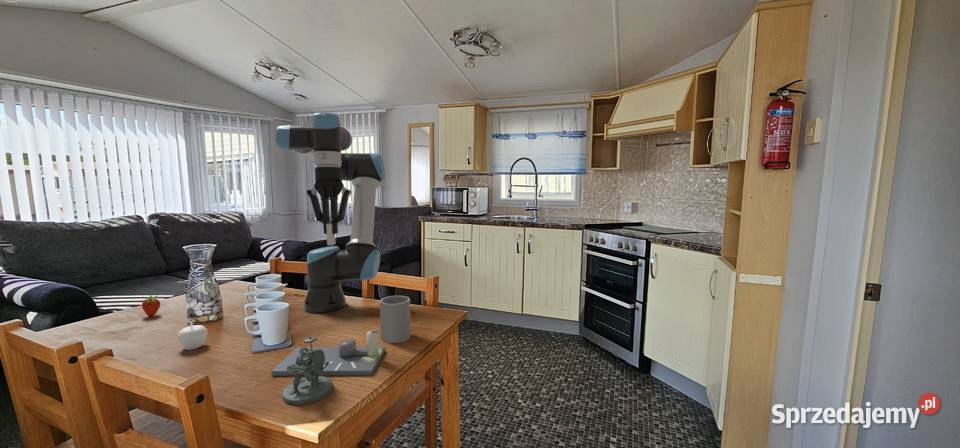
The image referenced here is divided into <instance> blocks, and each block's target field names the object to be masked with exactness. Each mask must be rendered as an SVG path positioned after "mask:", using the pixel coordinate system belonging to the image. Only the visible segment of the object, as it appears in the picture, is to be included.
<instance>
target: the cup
mask: <svg viewBox="0 0 960 448" xmlns="http://www.w3.org/2000/svg"><path fill="white" fill-rule="evenodd" d="M379 314H380V315H379V317H380V318H379V319H380V322H379V323H380V340H381V341H382V342H384V343H388V344H399V343H402V342H406V341H408V340H409V339H410V338H411V336H412V334H411V333H412V331H411V330H412V329H411V325H412V324H411V299H410V297H409V296H405V295H390V296H389V295H388V296H386V297H383V298H381V299H379Z"/></svg>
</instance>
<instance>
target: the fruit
mask: <svg viewBox="0 0 960 448" xmlns="http://www.w3.org/2000/svg"><path fill="white" fill-rule="evenodd" d="M141 307H142V310H143V312H144V313H145V314H146V316H147V317H153V316H155V315H156V314H157V313H158V311H159V310H160V307H161V301H160V300H159V299H158V295H155V296H153V295H151V294H150V297H144V299H142V302H141Z"/></svg>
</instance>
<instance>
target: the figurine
mask: <svg viewBox="0 0 960 448" xmlns="http://www.w3.org/2000/svg"><path fill="white" fill-rule="evenodd" d="M317 340H318V338H317V336H311V335H310V336H309V337H307V338H305V339H303V343H304V344H310V345H309V346H310V347H311V350H308V349H307V348H306V346H302V348H301V349H300V350H299V352H300V354H299V355H298V356H297V359H296V363H295V364H292V365H289V366H288V367H287V368H286V369H287V372H288V373H297V374H296V376H294V378H293V380H292V382H290V383H289V384H288V385H286V386H285V387H284V388H283V390H282V393H281V394H282V395H281V396H282V401H284V402H285V403H286V404H289V405H296V406H298V405H300V406H301V405H307V404H311V403H315V402H318V401H320V400H323V399H324V398H325V397H327V396H328V395H330V394H331V392H332V391H333V389H334V383H333V380H332V379H331V378H329V377H328V376H325V375H318V373H317V372H321V371H322V372H324V371H323V369H324V368H325V367H326V366H327V365H328V364H329V362H326V363H325V366H324V362H325V355H324V352H323V351H322V350H321V349H317V350H313V349H312V347H313V345H312V343H313V342H315V341H317ZM323 366H324V367H323ZM313 374H317V375H316V376H314V375H313Z"/></svg>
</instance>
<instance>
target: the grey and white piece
mask: <svg viewBox="0 0 960 448" xmlns="http://www.w3.org/2000/svg"><path fill="white" fill-rule="evenodd" d="M356 344H357V343H356V340H355V339H353V338H348V339H346V338H345V339H343V340H341V341H339V342H338V347H339V356H340V357H351V356H353V355H368V356H375V355H378V354H379V349H378V347H379V330H375V329H374V330H369V331H367V332H366V347H367V349H356V347H357V345H356Z"/></svg>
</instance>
